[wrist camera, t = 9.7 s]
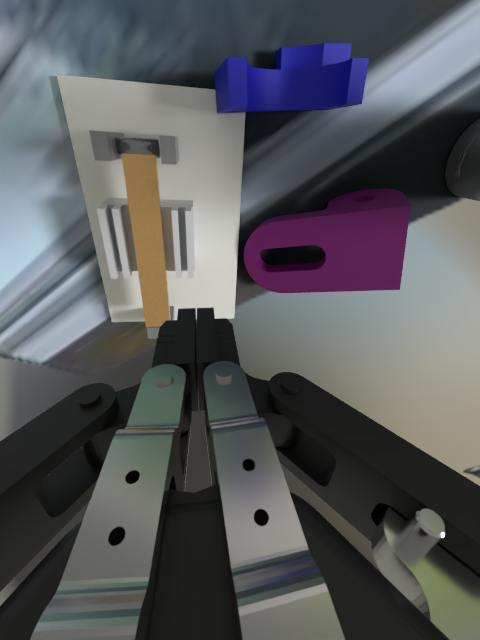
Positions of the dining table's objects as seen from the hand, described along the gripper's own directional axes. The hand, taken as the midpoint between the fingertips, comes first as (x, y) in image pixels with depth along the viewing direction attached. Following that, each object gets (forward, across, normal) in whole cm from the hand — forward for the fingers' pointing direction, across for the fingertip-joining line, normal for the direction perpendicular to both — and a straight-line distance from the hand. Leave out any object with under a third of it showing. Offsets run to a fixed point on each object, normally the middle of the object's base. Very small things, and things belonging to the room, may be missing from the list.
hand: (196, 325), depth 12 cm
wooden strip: (+19, +5, +3) cm, 20 cm away
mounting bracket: (+26, -15, +4) cm, 30 cm away
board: (+25, +3, +2) cm, 25 cm away
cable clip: (+25, -8, -12) cm, 29 cm away
